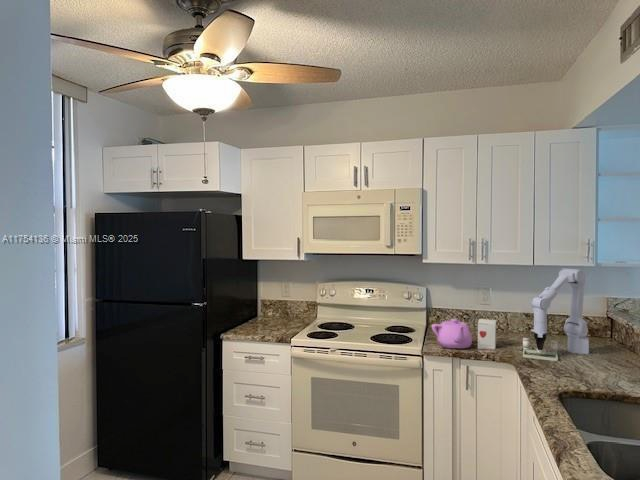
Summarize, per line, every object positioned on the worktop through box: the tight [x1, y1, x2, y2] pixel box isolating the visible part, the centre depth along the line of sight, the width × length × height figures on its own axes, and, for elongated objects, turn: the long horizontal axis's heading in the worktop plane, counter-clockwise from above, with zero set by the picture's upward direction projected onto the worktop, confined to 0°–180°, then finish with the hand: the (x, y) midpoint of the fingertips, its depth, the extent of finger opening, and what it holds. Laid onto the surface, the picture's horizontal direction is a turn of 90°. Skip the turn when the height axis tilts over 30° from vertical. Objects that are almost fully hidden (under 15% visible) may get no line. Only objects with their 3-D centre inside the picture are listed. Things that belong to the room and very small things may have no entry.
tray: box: [522, 349, 559, 362], centre depth 214 cm, size 15×11×2 cm
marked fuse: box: [535, 347, 544, 355], centre depth 214 cm, size 3×3×6 cm
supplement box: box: [477, 318, 497, 350], centre depth 232 cm, size 9×9×15 cm
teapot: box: [431, 318, 473, 350], centre depth 233 cm, size 23×21×15 cm
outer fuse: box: [522, 337, 530, 350], centre depth 226 cm, size 3×3×6 cm
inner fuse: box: [550, 339, 559, 353], centre depth 220 cm, size 3×3×6 cm
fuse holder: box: [519, 345, 562, 356], centre depth 223 cm, size 19×6×2 cm, turn 63°
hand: (540, 349), depth 214 cm, fingers closed on marked fuse, 3 cm apart
